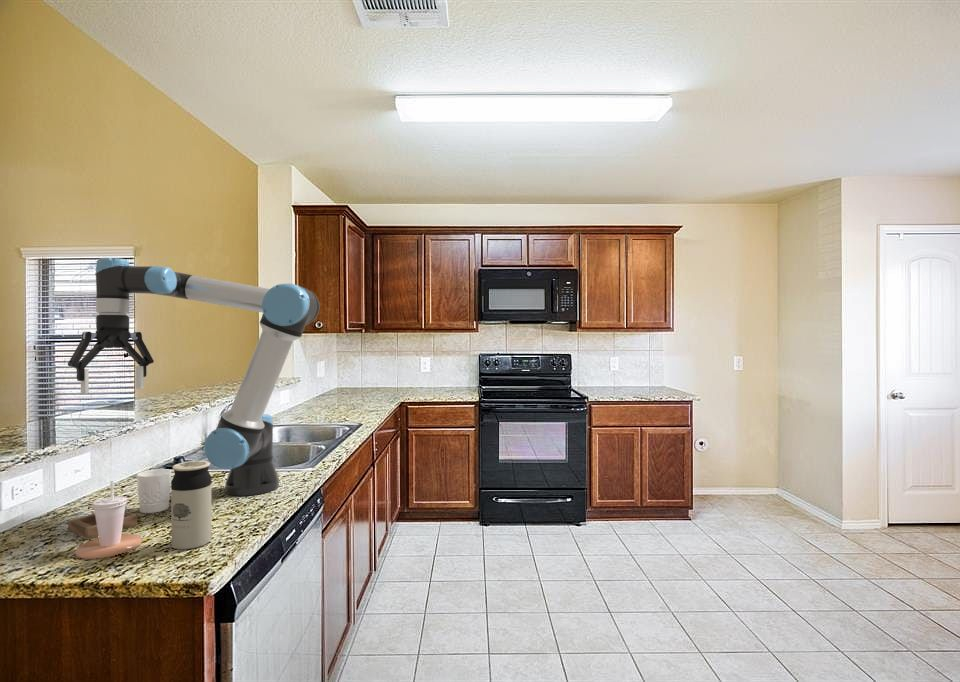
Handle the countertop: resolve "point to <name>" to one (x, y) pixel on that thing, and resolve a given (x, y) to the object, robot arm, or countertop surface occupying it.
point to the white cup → (154, 490)
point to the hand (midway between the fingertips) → (113, 390)
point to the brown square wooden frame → (88, 525)
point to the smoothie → (110, 518)
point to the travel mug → (191, 505)
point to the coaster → (96, 551)
